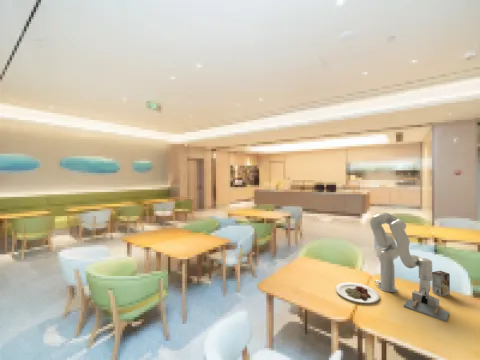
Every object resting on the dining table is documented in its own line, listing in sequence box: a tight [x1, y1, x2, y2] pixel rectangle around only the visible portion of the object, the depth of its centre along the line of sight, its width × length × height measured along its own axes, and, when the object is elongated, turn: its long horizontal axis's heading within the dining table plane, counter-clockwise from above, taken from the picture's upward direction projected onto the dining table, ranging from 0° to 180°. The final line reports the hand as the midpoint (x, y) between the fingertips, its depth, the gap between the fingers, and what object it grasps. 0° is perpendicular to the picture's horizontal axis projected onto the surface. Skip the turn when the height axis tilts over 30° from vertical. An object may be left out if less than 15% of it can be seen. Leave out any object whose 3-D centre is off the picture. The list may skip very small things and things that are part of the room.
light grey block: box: [411, 290, 440, 308], centre depth 161 cm, size 14×5×5 cm, turn 33°
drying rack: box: [403, 298, 450, 323], centre depth 152 cm, size 22×12×3 cm, turn 42°
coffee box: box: [431, 270, 451, 297], centre depth 172 cm, size 9×6×16 cm
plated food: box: [335, 281, 381, 304], centre depth 174 cm, size 30×30×3 cm
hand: (425, 301), depth 161 cm, fingers closed on light grey block, 5 cm apart
